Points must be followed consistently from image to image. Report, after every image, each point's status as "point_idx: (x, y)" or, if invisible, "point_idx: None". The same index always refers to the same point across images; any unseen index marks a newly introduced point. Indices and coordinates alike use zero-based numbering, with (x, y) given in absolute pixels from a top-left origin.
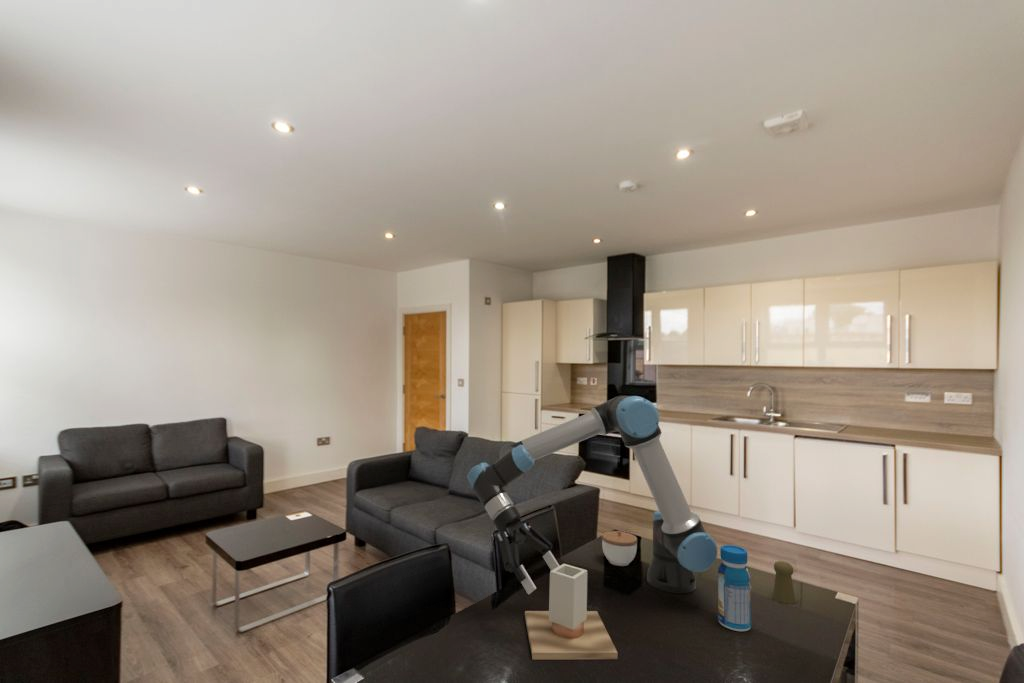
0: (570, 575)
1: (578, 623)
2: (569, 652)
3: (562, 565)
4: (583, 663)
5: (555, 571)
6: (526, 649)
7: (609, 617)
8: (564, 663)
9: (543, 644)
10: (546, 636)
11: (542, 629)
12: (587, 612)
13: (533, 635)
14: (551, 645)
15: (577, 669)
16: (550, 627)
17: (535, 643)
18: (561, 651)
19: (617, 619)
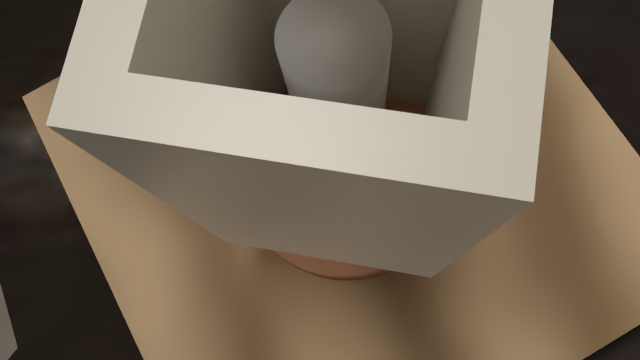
0: (190, 40)
1: None
2: (580, 82)
3: (146, 112)
4: (556, 24)
5: (473, 117)
6: (627, 355)
7: (16, 47)
8: (618, 106)
9: (596, 248)
10: (496, 268)
11: (427, 328)
12: (63, 143)
13: (535, 353)
14: (575, 200)
15: (626, 33)
16: (373, 289)
17: (619, 299)
18: (599, 124)
19: (22, 4)
